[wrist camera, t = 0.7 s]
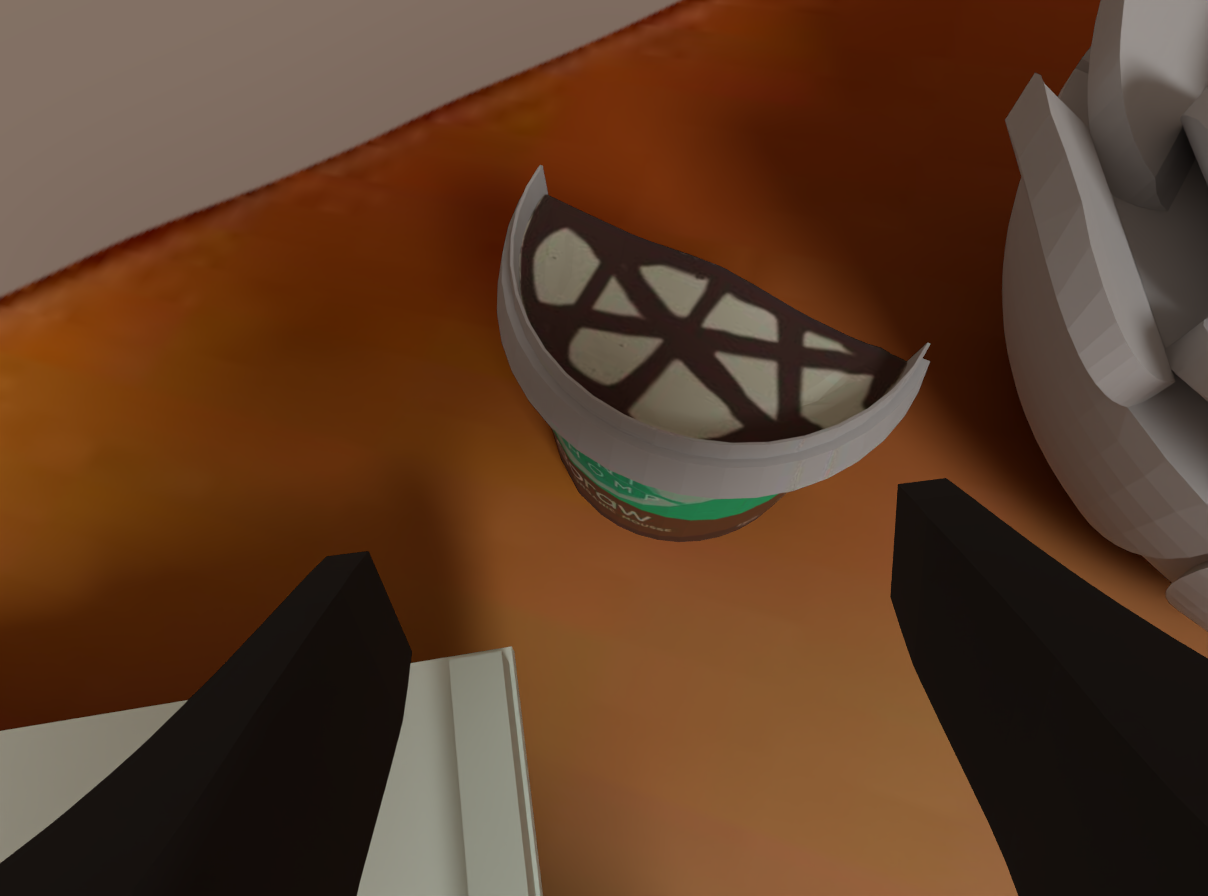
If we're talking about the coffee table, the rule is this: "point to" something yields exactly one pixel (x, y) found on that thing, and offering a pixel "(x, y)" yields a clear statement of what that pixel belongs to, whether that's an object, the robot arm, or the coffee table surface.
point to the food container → (681, 376)
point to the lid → (410, 802)
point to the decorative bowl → (1120, 284)
